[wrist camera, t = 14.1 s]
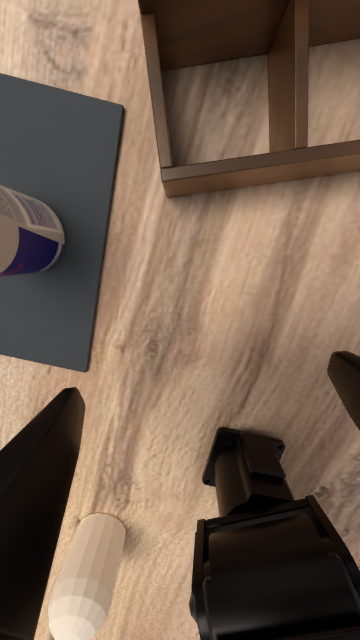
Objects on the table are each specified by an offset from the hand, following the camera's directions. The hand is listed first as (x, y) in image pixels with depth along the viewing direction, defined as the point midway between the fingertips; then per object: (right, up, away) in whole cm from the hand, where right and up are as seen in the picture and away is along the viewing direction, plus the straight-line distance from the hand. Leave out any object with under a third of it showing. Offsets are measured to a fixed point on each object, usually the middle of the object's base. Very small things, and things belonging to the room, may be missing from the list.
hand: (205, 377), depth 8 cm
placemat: (-11, +8, +10) cm, 17 cm away
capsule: (-9, -21, +18) cm, 29 cm away
